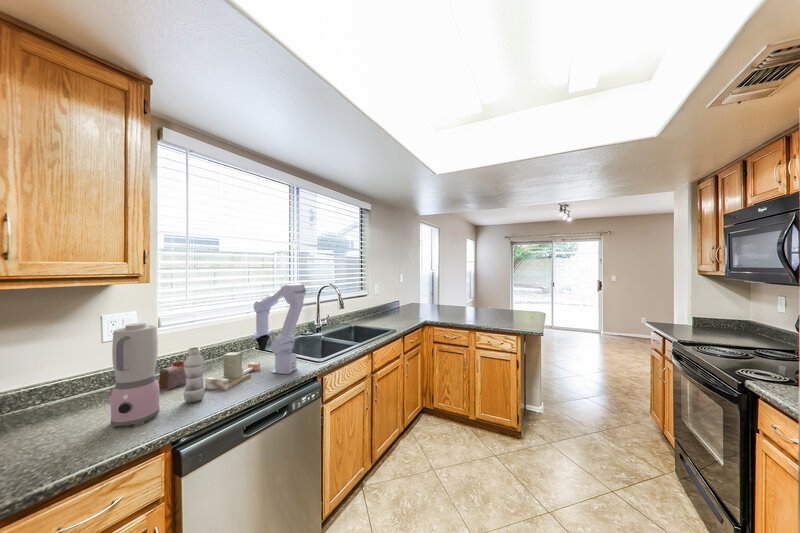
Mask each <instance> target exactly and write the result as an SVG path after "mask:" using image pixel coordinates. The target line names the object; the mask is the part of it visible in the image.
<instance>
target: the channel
mask: <svg viewBox="0 0 800 533" xmlns="http://www.w3.org/2000/svg"><path fill="white" fill-rule="evenodd" d="M251 377H252V373H249V372H248V373H246V374H244V376H243V377H241V378H239V379H237V380H235V381H233V382H229V379H224V375H223V376H221V377H206V378H205V385H204V389H210V390H221V391H226V390H228V388H229V389H231V388H233V387H234V386H236V385H238V384H240V383H243V382H244V381H246V380H248V379H250V378H251ZM232 386H233V387H232ZM230 387H231V388H230Z"/></svg>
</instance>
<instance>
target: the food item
mask: <svg viewBox="0 0 800 533" xmlns="http://www.w3.org/2000/svg"><path fill="white" fill-rule="evenodd" d="M158 384H159V390H166V391H169V390H171V389H174V388H176V387H179V386H185V384H186V377H185V370H184V361H182V360H181V361H176V362H173V363H172V366H169V367H165V368H162V369H161V370H159V378H158Z"/></svg>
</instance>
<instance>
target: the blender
mask: <svg viewBox="0 0 800 533" xmlns="http://www.w3.org/2000/svg"><path fill="white" fill-rule="evenodd" d="M158 340H159V338H158V328H157V326H156V325H152V324H151V325H150V324H149V325H147V324H146V323H145V322H137V323H128V324H126V325H125V327H121V328H118V329H115V330H114V331H113V333H112V345H111V346H112V349H111V350H112V354H111V355H112V356H111V358H112V368H113V370H114V374H115V379H116V380H115V381H116V383H115V386H114V388H112V392H111V395H110V426H111V429H113V430H115V429H117V427H123V426H130V425H134V426H135V427H137V428H138V427H141V426H143V425H144V424H145V421H147V420H149V419H151V418H153V417H155V416H157V415H159V413H160V411H161V407H160V388H159V380H157V378H156V376H155V372H156V366H157V362H158V355H159V354H158V352H159V351H158V350H159V345H158V344H159V342H158ZM135 427H134V428H135Z"/></svg>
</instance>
